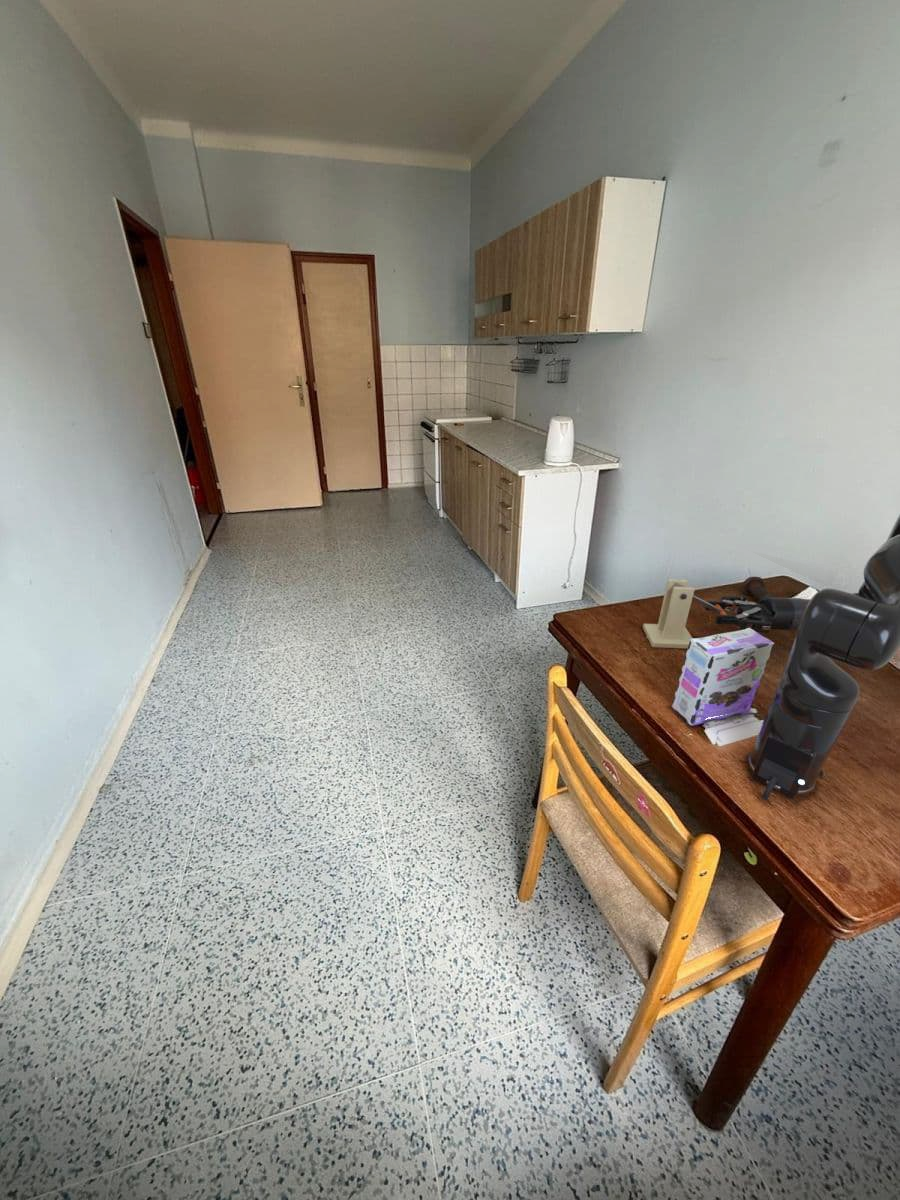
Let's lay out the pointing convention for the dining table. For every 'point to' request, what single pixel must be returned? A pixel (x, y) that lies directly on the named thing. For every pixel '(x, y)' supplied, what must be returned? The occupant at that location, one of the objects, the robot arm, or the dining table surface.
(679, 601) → the bracket
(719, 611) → the lever
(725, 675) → the candy box
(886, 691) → the dining table surface
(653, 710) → the dining table surface
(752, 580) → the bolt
